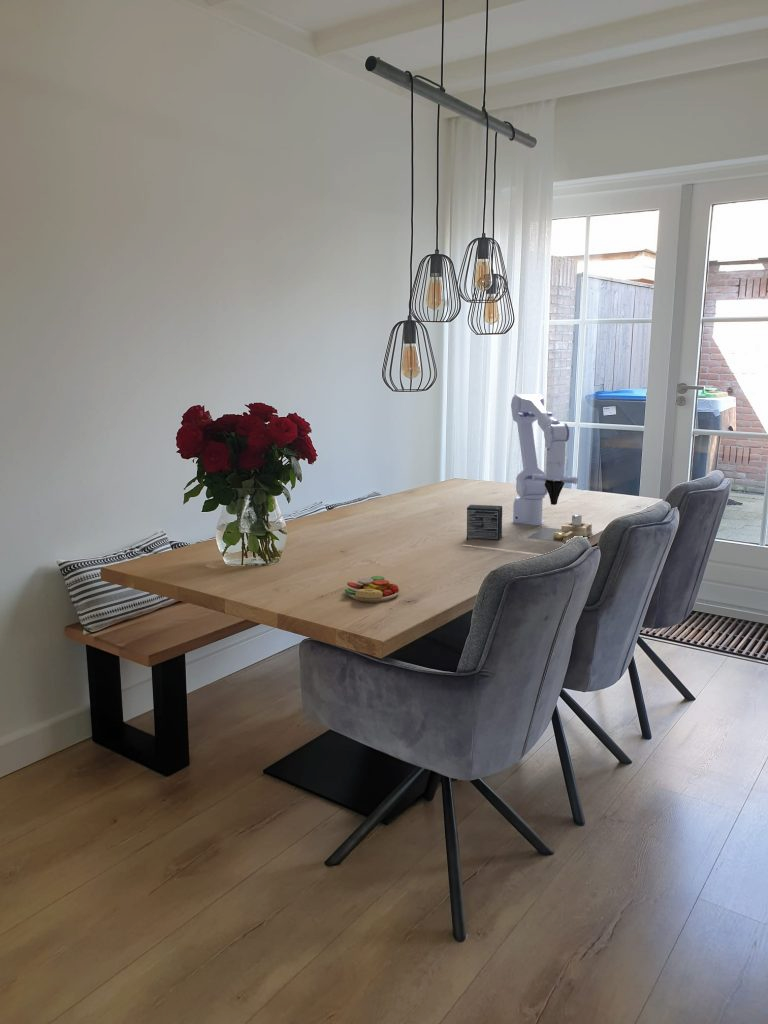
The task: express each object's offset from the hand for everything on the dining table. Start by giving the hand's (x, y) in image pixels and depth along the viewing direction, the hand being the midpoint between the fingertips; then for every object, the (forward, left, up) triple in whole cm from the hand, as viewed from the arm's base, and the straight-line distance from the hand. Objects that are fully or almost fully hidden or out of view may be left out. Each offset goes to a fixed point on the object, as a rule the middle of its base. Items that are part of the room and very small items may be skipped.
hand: (553, 504), depth 262 cm
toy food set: (-18, -84, -10) cm, 87 cm away
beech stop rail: (+7, -7, -9) cm, 14 cm away
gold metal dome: (+5, -7, -9) cm, 13 cm away
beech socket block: (+7, +2, -9) cm, 12 cm away
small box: (-17, -16, -10) cm, 25 cm away
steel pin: (+7, +2, -9) cm, 12 cm away
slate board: (+2, -2, -10) cm, 10 cm away
